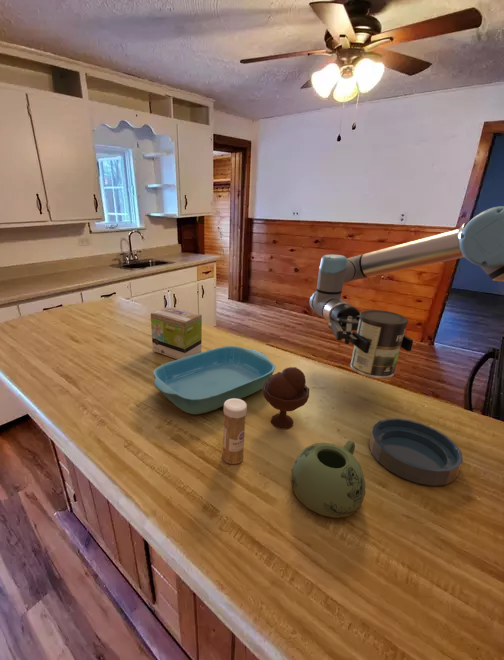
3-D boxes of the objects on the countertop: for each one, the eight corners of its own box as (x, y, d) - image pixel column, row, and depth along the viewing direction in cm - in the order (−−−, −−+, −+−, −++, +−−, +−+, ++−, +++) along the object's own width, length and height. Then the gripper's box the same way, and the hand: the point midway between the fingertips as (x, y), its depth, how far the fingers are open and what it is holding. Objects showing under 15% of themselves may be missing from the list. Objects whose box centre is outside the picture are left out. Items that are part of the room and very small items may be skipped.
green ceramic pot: (341, 538, 54) (350, 499, 51) (275, 491, 63) (279, 454, 60) (380, 486, 64) (390, 450, 61) (319, 451, 73) (325, 418, 70)
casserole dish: (236, 358, 115) (237, 339, 112) (287, 385, 99) (290, 363, 96) (139, 392, 94) (137, 370, 92) (183, 434, 78) (183, 408, 75)
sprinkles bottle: (238, 468, 68) (241, 413, 63) (218, 460, 70) (219, 406, 65) (246, 454, 72) (250, 401, 67) (227, 447, 74) (229, 395, 69)
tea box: (151, 352, 119) (149, 312, 114) (169, 342, 127) (168, 305, 121) (185, 363, 111) (184, 321, 106) (202, 352, 119) (202, 313, 113)
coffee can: (396, 366, 86) (409, 314, 81) (391, 383, 78) (406, 327, 73) (353, 356, 91) (363, 306, 86) (345, 371, 83) (356, 318, 78)
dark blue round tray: (437, 438, 77) (442, 424, 76) (472, 494, 63) (479, 477, 61) (362, 427, 81) (365, 414, 79) (378, 478, 66) (383, 462, 65)
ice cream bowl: (288, 405, 89) (294, 354, 83) (314, 431, 79) (322, 375, 74) (252, 412, 86) (256, 360, 80) (274, 440, 76) (280, 383, 71)
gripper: (374, 326, 101) (429, 359, 81) (303, 328, 98) (340, 363, 78) (380, 302, 98) (438, 330, 78) (306, 304, 95) (346, 333, 75)
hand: (389, 346), depth 78 cm, fingers closed on coffee can, 10 cm apart
